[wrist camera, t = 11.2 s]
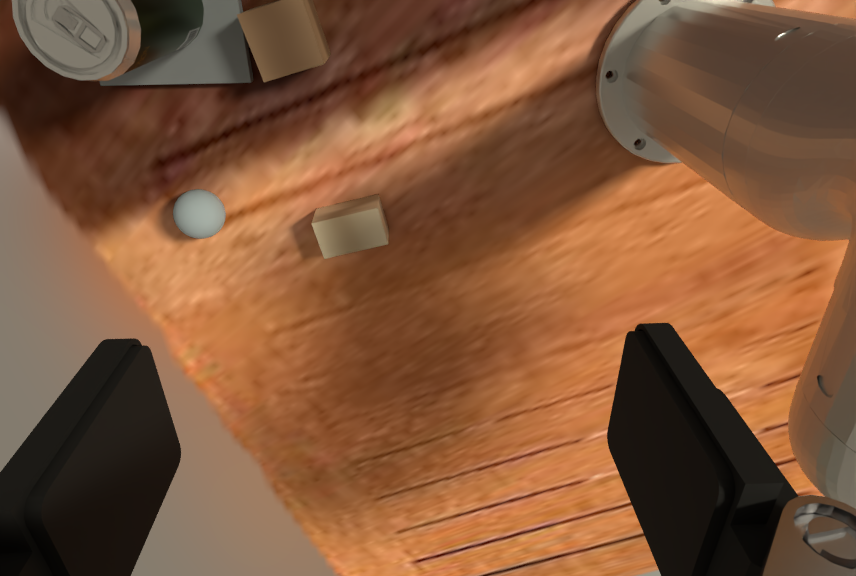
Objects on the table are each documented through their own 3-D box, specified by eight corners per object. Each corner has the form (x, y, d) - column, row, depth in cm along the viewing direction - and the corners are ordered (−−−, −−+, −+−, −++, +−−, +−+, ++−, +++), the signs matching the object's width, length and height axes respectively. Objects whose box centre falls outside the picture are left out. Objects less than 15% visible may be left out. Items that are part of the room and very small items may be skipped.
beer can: (224, 0, 37) (155, 20, 26) (179, 66, 39) (98, 109, 28) (146, -68, 35) (38, -75, 24) (103, 6, 37) (-14, 28, 26)
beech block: (378, 193, 45) (377, 207, 42) (388, 228, 46) (388, 244, 44) (316, 207, 45) (311, 223, 43) (328, 241, 47) (324, 259, 44)
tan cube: (309, -10, 38) (300, -6, 34) (330, 54, 40) (324, 63, 36) (251, 8, 38) (236, 14, 34) (275, 71, 40) (263, 82, 36)
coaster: (226, -94, 35) (223, -94, 34) (253, 80, 40) (250, 82, 39) (57, -92, 35) (50, -92, 34) (105, 83, 40) (100, 85, 39)
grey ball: (226, 181, 44) (212, 199, 40) (234, 225, 45) (222, 246, 42) (177, 182, 43) (160, 200, 40) (188, 227, 45) (172, 247, 42)
